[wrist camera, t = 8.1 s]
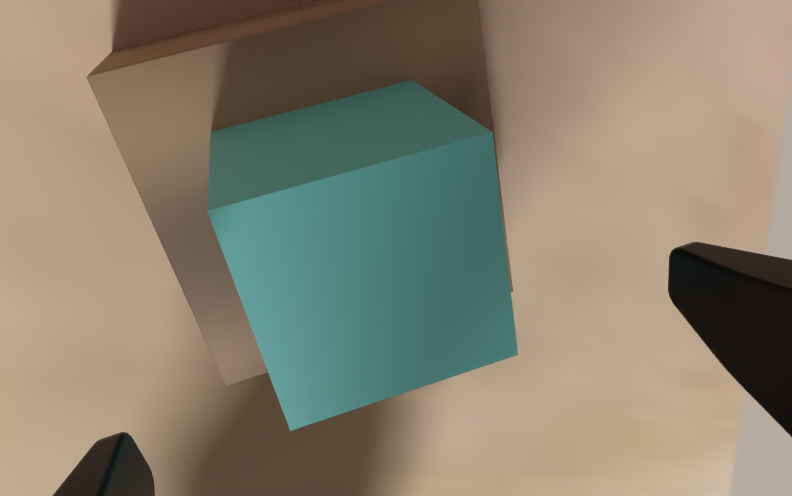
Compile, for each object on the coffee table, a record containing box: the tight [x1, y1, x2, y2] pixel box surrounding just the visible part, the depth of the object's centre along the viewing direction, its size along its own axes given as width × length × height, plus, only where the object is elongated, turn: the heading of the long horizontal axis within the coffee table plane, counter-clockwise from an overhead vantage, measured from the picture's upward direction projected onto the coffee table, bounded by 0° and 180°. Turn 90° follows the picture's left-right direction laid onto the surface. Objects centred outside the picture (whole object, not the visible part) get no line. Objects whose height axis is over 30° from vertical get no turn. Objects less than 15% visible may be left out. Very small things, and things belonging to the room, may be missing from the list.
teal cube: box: [207, 80, 518, 431], centre depth 13 cm, size 5×5×5 cm
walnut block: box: [87, 0, 513, 386], centre depth 17 cm, size 9×9×4 cm
